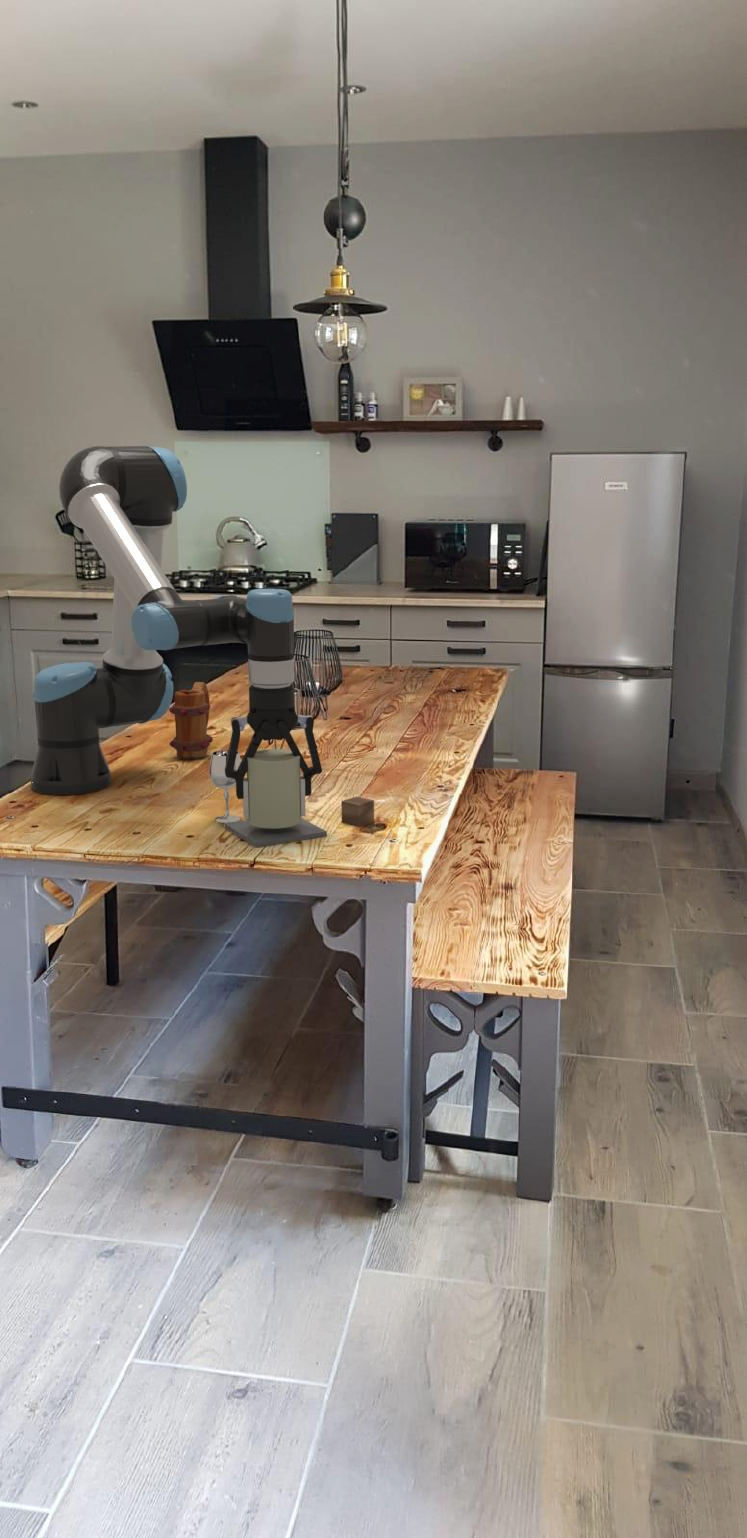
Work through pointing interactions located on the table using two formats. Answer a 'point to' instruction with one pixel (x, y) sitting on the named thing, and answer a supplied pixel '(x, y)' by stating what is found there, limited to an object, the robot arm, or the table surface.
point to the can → (274, 789)
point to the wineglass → (223, 780)
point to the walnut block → (357, 811)
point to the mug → (191, 722)
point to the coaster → (274, 833)
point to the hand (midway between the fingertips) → (274, 815)
